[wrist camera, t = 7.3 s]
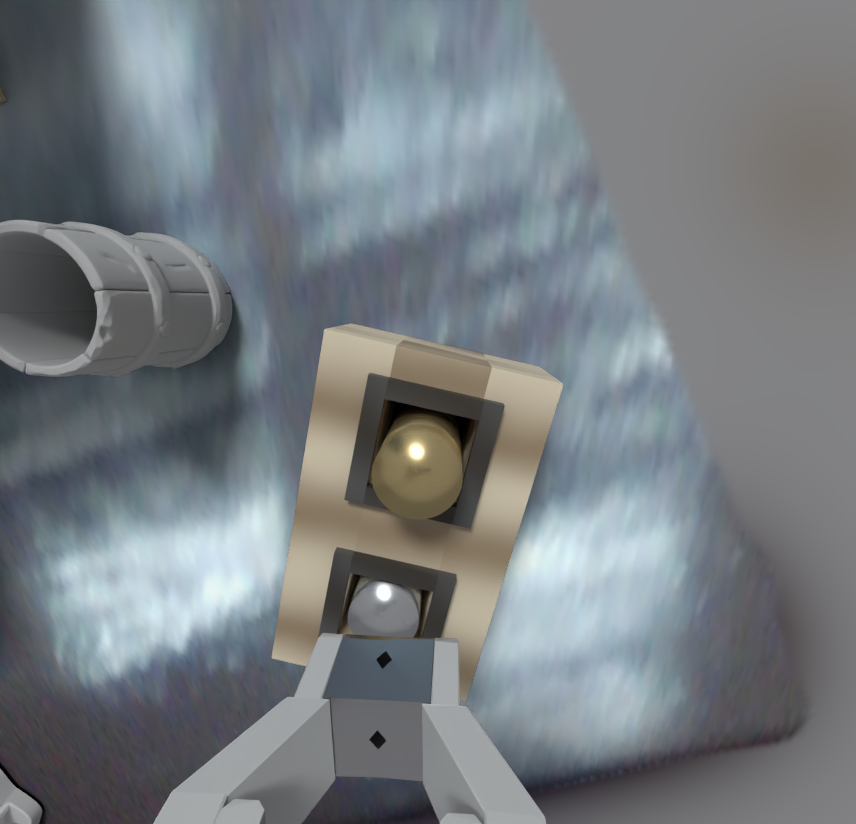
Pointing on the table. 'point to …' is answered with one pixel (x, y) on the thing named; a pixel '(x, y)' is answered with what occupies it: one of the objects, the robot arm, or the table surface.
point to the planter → (2, 97)
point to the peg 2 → (384, 609)
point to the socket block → (395, 535)
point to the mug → (105, 300)
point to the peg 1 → (419, 464)
